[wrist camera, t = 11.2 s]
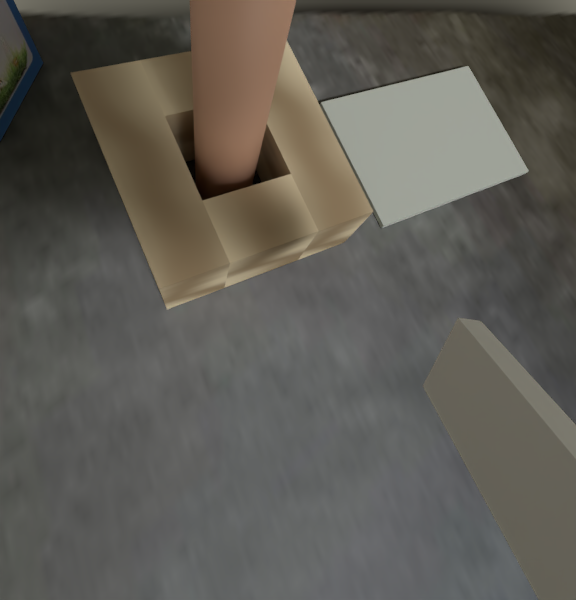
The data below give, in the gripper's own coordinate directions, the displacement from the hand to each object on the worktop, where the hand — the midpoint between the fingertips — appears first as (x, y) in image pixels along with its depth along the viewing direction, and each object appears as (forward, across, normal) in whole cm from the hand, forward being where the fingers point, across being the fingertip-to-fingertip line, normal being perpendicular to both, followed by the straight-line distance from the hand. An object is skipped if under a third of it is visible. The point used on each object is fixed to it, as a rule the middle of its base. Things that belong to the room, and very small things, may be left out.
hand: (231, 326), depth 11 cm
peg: (+16, -1, -1) cm, 16 cm away
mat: (+21, +13, +4) cm, 25 cm away
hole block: (+16, -1, -1) cm, 16 cm away
